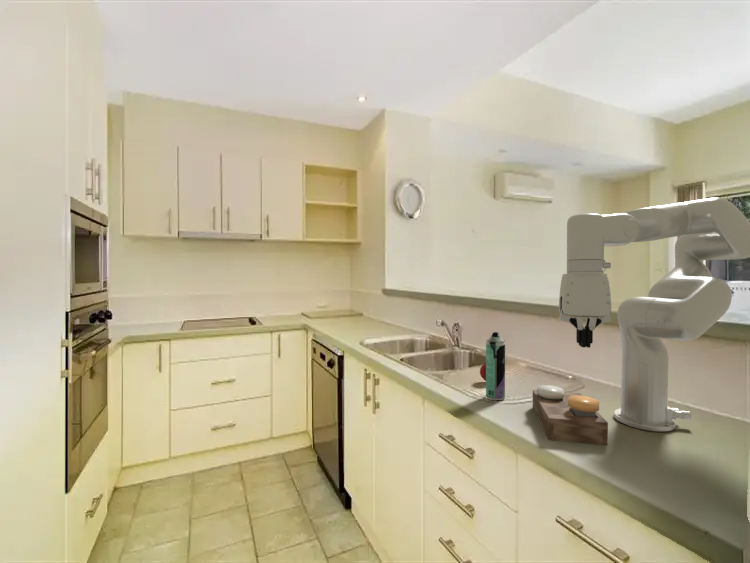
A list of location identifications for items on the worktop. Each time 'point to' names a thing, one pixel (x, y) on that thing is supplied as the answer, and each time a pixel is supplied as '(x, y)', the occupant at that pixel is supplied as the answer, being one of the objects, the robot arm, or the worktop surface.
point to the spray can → (495, 367)
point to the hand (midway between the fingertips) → (584, 346)
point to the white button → (550, 392)
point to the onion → (483, 371)
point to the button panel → (569, 422)
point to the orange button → (583, 406)
